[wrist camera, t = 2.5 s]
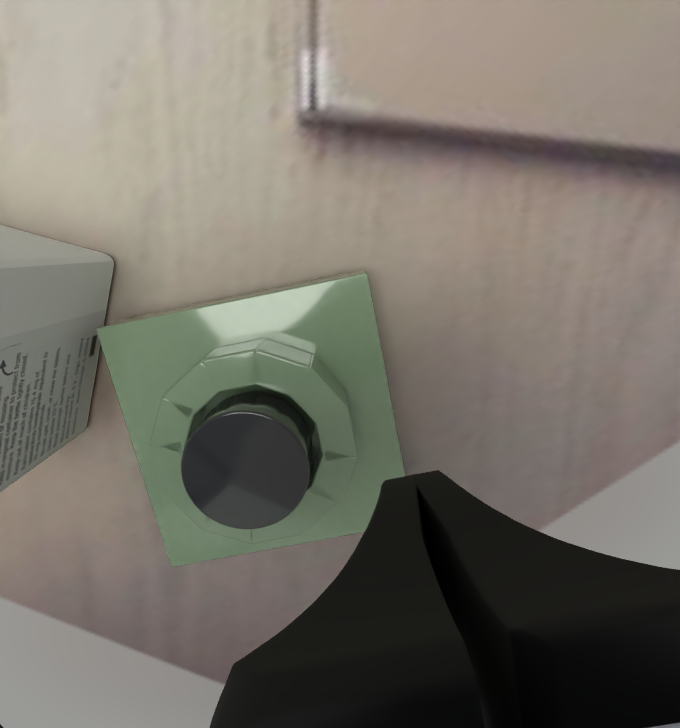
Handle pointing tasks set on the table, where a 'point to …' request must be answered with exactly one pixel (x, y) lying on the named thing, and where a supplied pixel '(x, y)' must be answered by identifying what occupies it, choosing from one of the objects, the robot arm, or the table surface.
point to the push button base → (270, 376)
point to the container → (46, 344)
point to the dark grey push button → (248, 461)
